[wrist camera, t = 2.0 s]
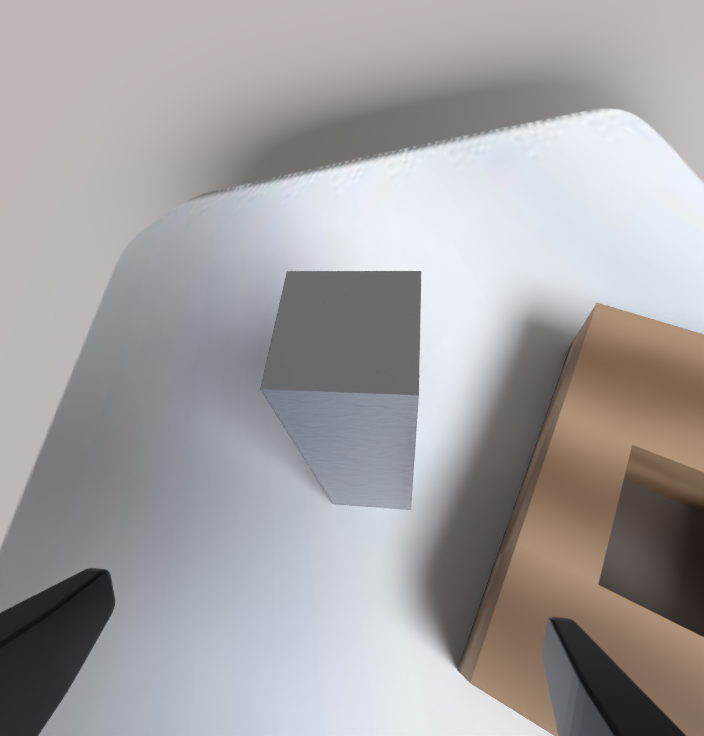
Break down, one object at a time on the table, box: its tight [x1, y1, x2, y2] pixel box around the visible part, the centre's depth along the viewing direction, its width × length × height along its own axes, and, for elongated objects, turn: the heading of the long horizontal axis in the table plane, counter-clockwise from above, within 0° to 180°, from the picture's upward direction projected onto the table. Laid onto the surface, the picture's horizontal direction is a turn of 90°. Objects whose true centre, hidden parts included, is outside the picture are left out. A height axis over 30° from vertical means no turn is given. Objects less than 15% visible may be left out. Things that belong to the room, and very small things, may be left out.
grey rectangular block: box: [260, 271, 421, 510], centre depth 17 cm, size 4×4×13 cm
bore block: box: [458, 303, 704, 736], centre depth 18 cm, size 18×12×4 cm, turn 152°
